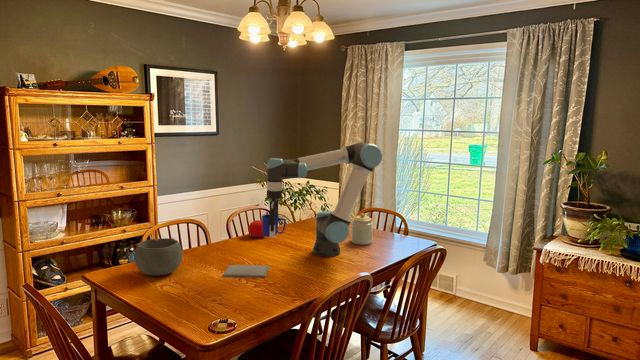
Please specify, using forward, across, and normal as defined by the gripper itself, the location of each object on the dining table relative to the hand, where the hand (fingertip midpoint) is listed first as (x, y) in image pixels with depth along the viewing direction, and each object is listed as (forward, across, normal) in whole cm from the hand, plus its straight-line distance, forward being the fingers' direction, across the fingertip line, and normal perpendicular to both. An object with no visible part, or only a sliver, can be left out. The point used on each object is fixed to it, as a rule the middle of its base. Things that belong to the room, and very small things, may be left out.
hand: (273, 235), depth 214 cm
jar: (+14, -46, +47) cm, 67 cm away
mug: (0, 0, 0) cm, 1 cm away
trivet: (+16, +9, -11) cm, 22 cm away
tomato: (+16, -52, -17) cm, 57 cm away
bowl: (+17, +14, -52) cm, 57 cm away
